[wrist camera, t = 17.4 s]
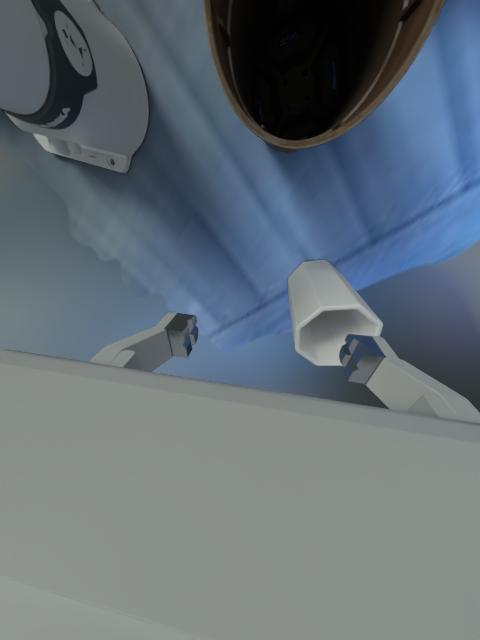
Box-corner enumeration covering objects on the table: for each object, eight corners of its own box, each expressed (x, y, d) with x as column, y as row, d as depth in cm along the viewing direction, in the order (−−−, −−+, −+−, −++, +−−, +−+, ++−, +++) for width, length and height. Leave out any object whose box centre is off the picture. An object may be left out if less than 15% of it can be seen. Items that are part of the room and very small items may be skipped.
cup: (277, 274, 40) (279, 323, 25) (331, 247, 35) (373, 287, 20) (298, 314, 45) (309, 375, 29) (348, 294, 40) (392, 355, 25)
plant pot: (353, -72, 19) (536, -692, 6) (372, 126, 26) (471, 57, 13) (218, 56, 25) (154, -101, 12) (264, 189, 32) (256, 185, 19)
